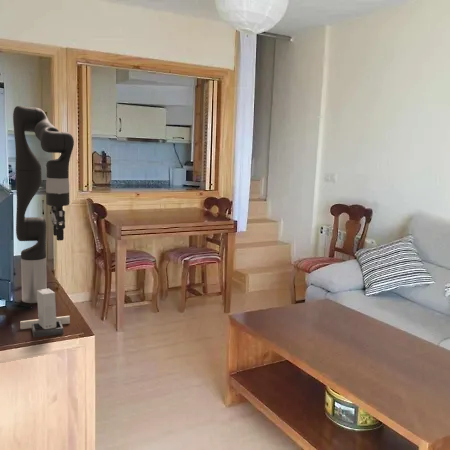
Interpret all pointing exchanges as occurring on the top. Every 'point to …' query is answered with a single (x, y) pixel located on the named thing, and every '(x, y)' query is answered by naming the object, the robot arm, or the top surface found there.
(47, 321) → the skincare box
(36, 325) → the frame
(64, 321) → the door edge rail
